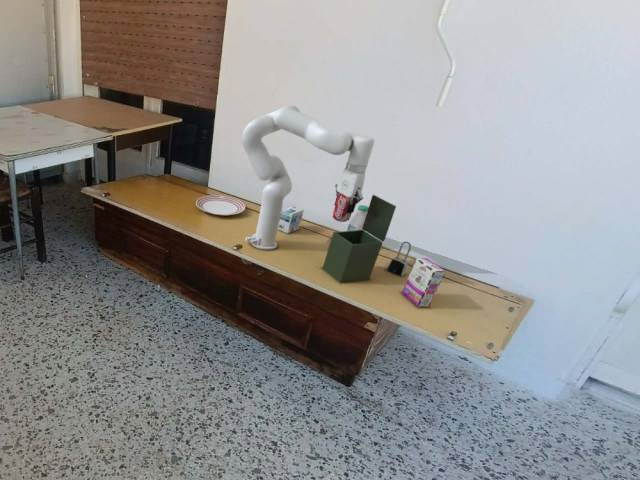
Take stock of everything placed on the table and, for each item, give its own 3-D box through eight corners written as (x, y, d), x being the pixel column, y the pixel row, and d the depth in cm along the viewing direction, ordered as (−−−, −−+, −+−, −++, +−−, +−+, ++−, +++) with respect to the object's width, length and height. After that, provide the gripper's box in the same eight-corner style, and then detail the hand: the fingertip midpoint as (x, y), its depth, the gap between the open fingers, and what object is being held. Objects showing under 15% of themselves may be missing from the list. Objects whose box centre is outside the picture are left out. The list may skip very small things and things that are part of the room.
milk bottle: (358, 242, 228) (371, 205, 217) (360, 249, 221) (373, 210, 211) (342, 240, 230) (354, 202, 219) (343, 246, 223) (355, 208, 213)
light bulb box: (287, 233, 233) (292, 214, 227) (276, 229, 238) (281, 210, 232) (299, 229, 239) (304, 209, 233) (288, 224, 243) (293, 205, 238)
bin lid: (394, 206, 179) (396, 206, 179) (372, 195, 189) (374, 194, 189) (382, 241, 187) (384, 241, 187) (362, 228, 197) (363, 228, 197)
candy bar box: (429, 307, 179) (446, 271, 171) (417, 307, 179) (434, 271, 170) (412, 292, 189) (427, 257, 180) (401, 292, 188) (415, 257, 180)
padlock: (385, 270, 204) (397, 240, 196) (390, 267, 206) (402, 237, 199) (400, 276, 200) (413, 246, 192) (405, 274, 202) (418, 243, 194)
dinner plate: (234, 223, 242) (235, 217, 240) (187, 211, 254) (188, 205, 252) (251, 207, 262) (252, 202, 260) (207, 197, 274) (207, 191, 272)
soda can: (350, 223, 193) (359, 196, 187) (333, 221, 194) (341, 195, 188) (347, 217, 199) (355, 191, 193) (330, 215, 200) (337, 189, 194)
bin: (340, 282, 193) (352, 245, 184) (322, 268, 203) (333, 232, 194) (369, 279, 197) (383, 242, 187) (350, 265, 207) (362, 229, 197)
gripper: (334, 162, 191) (323, 202, 200) (362, 175, 176) (349, 217, 186) (349, 161, 192) (338, 201, 202) (378, 174, 178) (364, 216, 188)
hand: (343, 208), depth 194 cm, fingers closed on soda can, 7 cm apart
